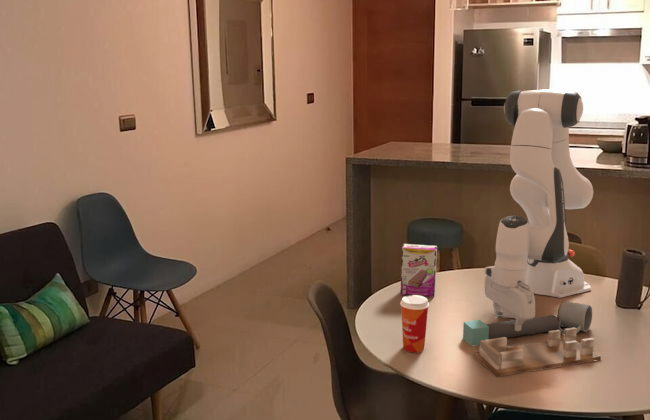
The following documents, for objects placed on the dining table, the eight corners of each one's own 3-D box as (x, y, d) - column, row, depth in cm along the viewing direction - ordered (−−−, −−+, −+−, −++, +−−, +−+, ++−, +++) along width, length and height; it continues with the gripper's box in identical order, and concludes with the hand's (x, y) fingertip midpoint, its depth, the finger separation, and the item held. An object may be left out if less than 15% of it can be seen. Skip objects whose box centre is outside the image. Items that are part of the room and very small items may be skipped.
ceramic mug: (563, 320, 199) (565, 295, 197) (591, 326, 194) (594, 302, 192) (550, 332, 191) (552, 307, 189) (580, 340, 186) (582, 314, 184)
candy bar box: (400, 295, 219) (401, 247, 215) (401, 290, 224) (402, 243, 220) (434, 298, 217) (436, 249, 213) (435, 292, 222) (437, 244, 218)
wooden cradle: (571, 341, 185) (572, 324, 183) (600, 359, 173) (602, 341, 172) (473, 355, 176) (474, 338, 175) (497, 376, 165) (498, 358, 164)
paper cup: (394, 345, 183) (394, 296, 180) (418, 340, 186) (419, 292, 183) (409, 356, 176) (410, 306, 173) (433, 351, 179) (435, 302, 176)
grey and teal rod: (548, 326, 194) (549, 310, 193) (559, 333, 190) (560, 316, 189) (462, 338, 187) (463, 321, 186) (471, 346, 182) (472, 329, 181)
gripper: (543, 287, 175) (539, 336, 178) (501, 264, 194) (498, 309, 197) (521, 289, 173) (518, 339, 176) (481, 266, 192) (479, 311, 195)
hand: (507, 323), depth 187 cm, fingers open, 8 cm apart
